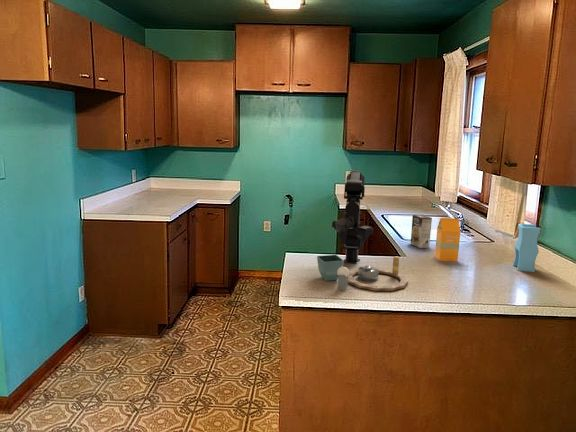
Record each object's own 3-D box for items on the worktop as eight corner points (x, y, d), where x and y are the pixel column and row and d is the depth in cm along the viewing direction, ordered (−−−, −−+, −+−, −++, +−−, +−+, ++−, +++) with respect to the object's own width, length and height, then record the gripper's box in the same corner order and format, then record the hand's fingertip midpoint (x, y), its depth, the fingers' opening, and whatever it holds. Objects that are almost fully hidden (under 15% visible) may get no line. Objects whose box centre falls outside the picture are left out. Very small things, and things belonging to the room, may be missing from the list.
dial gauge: (338, 287, 185) (339, 264, 183) (349, 289, 183) (350, 266, 182) (336, 289, 183) (336, 266, 181) (346, 291, 181) (347, 268, 179)
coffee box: (409, 243, 255) (412, 214, 251) (420, 243, 256) (422, 214, 253) (419, 248, 246) (421, 217, 243) (429, 247, 248) (432, 217, 245)
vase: (535, 271, 210) (541, 228, 206) (516, 270, 211) (522, 227, 207) (530, 266, 217) (536, 224, 213) (512, 265, 219) (517, 223, 215)
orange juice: (457, 261, 224) (461, 220, 220) (439, 260, 224) (442, 219, 220) (452, 256, 231) (456, 216, 227) (434, 256, 232) (437, 216, 228)
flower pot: (323, 283, 190) (323, 261, 188) (316, 276, 198) (316, 255, 196) (343, 281, 192) (344, 260, 190) (335, 274, 200) (336, 254, 199)
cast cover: (361, 274, 202) (361, 262, 201) (380, 277, 199) (381, 265, 198) (355, 279, 195) (355, 267, 194) (375, 283, 191) (375, 270, 190)
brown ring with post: (356, 267, 209) (357, 249, 208) (412, 276, 199) (413, 257, 197) (338, 284, 188) (338, 264, 186) (399, 294, 177) (400, 274, 176)
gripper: (323, 209, 198) (322, 245, 202) (356, 217, 184) (354, 255, 188) (341, 206, 205) (340, 240, 209) (375, 214, 191) (373, 250, 195)
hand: (351, 246), depth 200 cm, fingers open, 9 cm apart
